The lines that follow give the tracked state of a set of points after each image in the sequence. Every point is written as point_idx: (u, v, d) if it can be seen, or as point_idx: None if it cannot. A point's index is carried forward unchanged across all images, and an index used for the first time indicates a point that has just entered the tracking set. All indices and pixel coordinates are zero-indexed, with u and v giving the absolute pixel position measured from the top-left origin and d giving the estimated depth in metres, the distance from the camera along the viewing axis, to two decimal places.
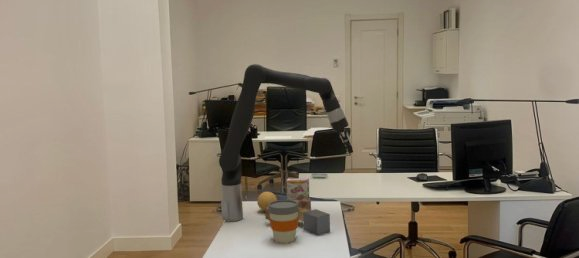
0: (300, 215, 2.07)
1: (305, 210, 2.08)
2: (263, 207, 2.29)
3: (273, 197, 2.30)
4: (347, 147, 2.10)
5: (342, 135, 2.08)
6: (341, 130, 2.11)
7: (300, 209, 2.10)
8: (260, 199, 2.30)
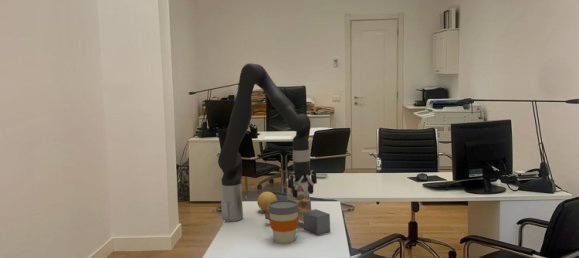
0: (300, 215, 2.07)
1: (305, 210, 2.08)
2: (263, 207, 2.29)
3: (273, 197, 2.30)
4: (292, 190, 2.05)
5: (288, 177, 2.03)
6: (295, 172, 2.05)
7: (300, 209, 2.10)
8: (260, 199, 2.30)
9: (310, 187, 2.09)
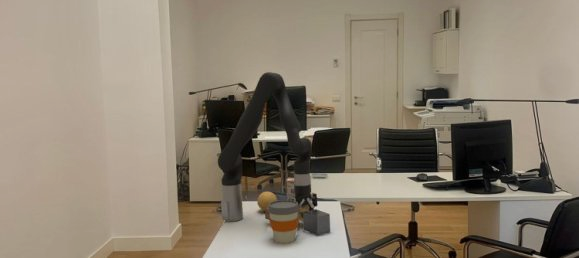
0: (300, 215, 2.07)
1: (305, 210, 2.08)
2: (263, 207, 2.29)
3: (273, 197, 2.30)
4: None
5: None
6: (295, 195, 2.06)
7: (300, 209, 2.10)
8: (260, 199, 2.30)
9: None
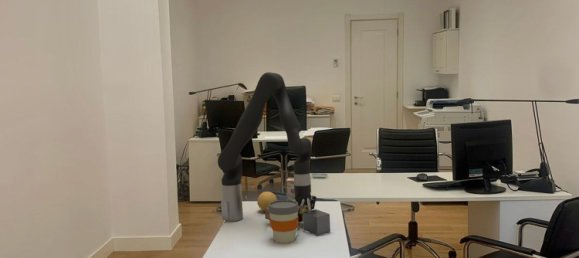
0: None
1: (305, 210, 2.08)
2: (263, 207, 2.29)
3: (273, 197, 2.30)
4: None
5: None
6: (295, 195, 2.06)
7: None
8: (260, 199, 2.30)
9: None
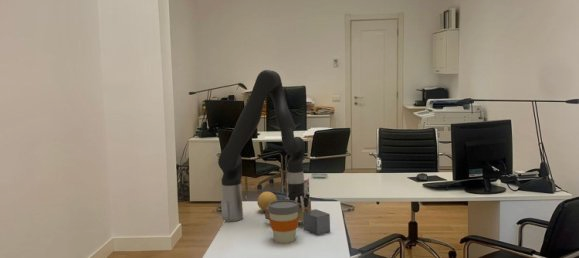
0: None
1: None
2: (263, 207, 2.29)
3: (273, 197, 2.30)
4: None
5: None
6: (289, 193, 2.10)
7: None
8: (260, 199, 2.30)
9: None
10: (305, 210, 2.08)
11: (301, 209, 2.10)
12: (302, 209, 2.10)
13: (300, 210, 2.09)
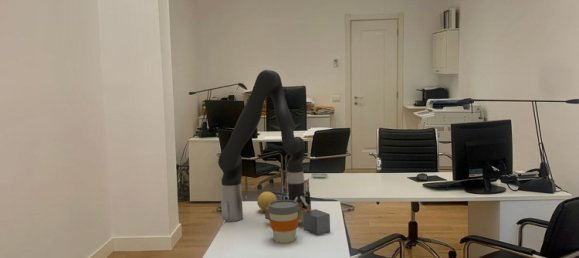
0: None
1: None
2: (263, 207, 2.29)
3: (273, 197, 2.30)
4: None
5: (283, 198, 2.08)
6: (289, 193, 2.10)
7: None
8: (260, 199, 2.30)
9: (304, 208, 2.15)
10: (305, 210, 2.08)
11: (301, 209, 2.10)
12: (302, 209, 2.10)
13: (300, 210, 2.09)
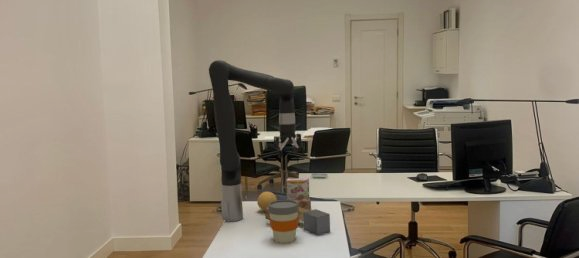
0: None
1: None
2: (263, 207, 2.29)
3: (273, 197, 2.30)
4: None
5: (274, 138, 2.15)
6: (280, 134, 2.16)
7: None
8: (260, 199, 2.30)
9: (295, 149, 2.21)
10: (305, 210, 2.08)
11: (301, 209, 2.10)
12: (302, 209, 2.10)
13: (300, 210, 2.09)
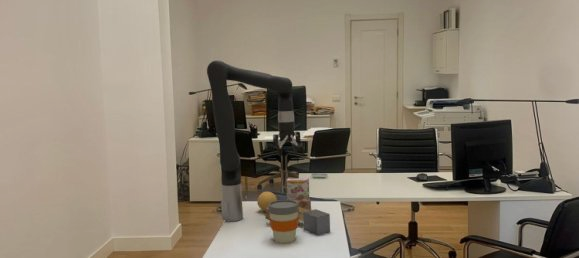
0: None
1: None
2: (263, 207, 2.29)
3: (273, 197, 2.30)
4: (277, 149, 2.17)
5: (273, 136, 2.15)
6: (279, 132, 2.16)
7: None
8: (260, 199, 2.30)
9: (294, 147, 2.21)
10: (305, 210, 2.08)
11: (301, 209, 2.10)
12: (302, 209, 2.10)
13: (300, 210, 2.09)
